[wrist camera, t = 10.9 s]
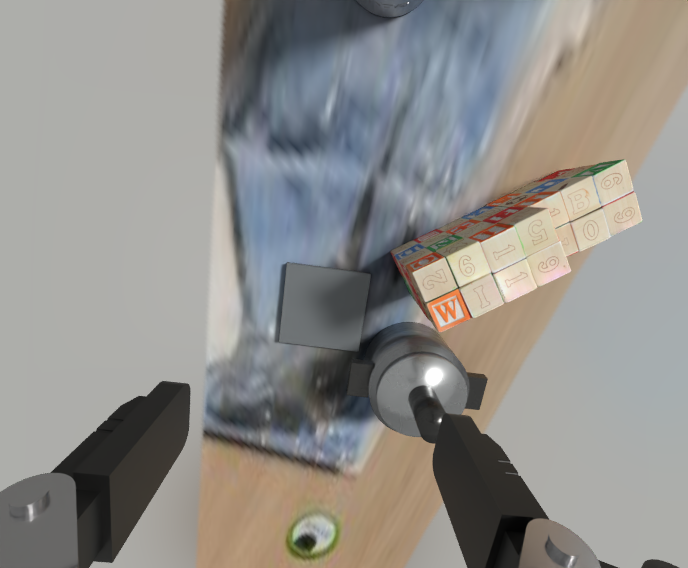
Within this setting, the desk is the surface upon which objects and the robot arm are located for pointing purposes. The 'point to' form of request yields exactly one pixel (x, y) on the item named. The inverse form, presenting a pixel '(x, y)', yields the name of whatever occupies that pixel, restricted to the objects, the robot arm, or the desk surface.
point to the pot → (397, 344)
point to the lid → (420, 393)
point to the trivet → (323, 306)
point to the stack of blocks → (516, 242)
